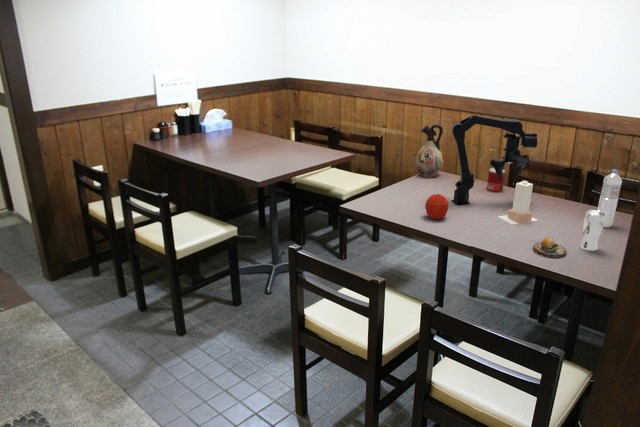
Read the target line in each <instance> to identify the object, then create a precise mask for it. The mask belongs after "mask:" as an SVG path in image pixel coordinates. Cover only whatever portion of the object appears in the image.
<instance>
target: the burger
mask: <svg viewBox="0 0 640 427" xmlns="http://www.w3.org/2000/svg"><path fill="white" fill-rule="evenodd" d="M532 250H533V253H536V254H537V255H538V254H541V255H543V256H542V257H544V258H549V259H561V258H564V257H565V256H566V254H567V249H566V248H565V247H564V246H562V245H560V244H559V243H556V242H555V240H554V239H553V238H552V237H545V238H543V239H542V241H538V242H535V243H534V245H533V247H532ZM541 255H540V256H541ZM560 257H561V258H560Z"/></svg>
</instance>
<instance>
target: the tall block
mask: <svg viewBox="0 0 640 427" xmlns="http://www.w3.org/2000/svg"><path fill="white" fill-rule="evenodd" d="M533 186H534V184H533V183H532V182H531V183H530V182H529V181H527V180H522V181H520V182H517V183H516V184H515V188H514V189H515V190H514V197H513V204H512V209H511V210H512V211H513V212H516V213H519V214H522V215H523V214H525V213H528V212H530V207H531V206H530V204H531V199H532V194H533Z"/></svg>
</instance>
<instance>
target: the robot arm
mask: <svg viewBox="0 0 640 427" xmlns="http://www.w3.org/2000/svg"><path fill="white" fill-rule="evenodd" d="M476 125H479V126H480V125H481V126H485V127H492V128H495V129H496V128H497V129H500V130H503V131H506V132H505V133H503V134H502V137H503V138H504V139H506V142H505V147H503V148H502V150H503V151H504V156H502V158H501V159H499V158H492V159H491V160H490V161H489V165H490V166H491V168H494V169H495V171H496V173H497V176H498V179H499V180H501V178H502V171H503V170H505V165H511V164H514V166H513V167H514V168H513V169H514V170H513V175H514V179H517V178H518V177H519V175H520V173H521V172H522V169H524V168H525V167H527V166H528V165H530V164H531V162H530V161H531V160H530V155H529V154H521V150H520V149H519V148H520V147H519V146H521V147H522V149H523V148H526V149H528V148H529V149H536V148H537V146H538V134H537V133H536V132H525V131H524V129H523V124H522V122H521V121H519V120H518V119H516V118H503V119H500V118H494V117H491V116H486V115H478V114H476V113H475V114H474V113H472V114H471V115H469V116H468V117H466V118H464V119H461V120H460V121H456V122H454V123H452V124H451V132H452V134H453V137H454V140H455V143H456V149H457V155H458V161H459V166H460V167H459V168H460V174H459V176H460V178H459V180H458V181H456V182H455V183H454V184H455V187H456V189H454V190H453V199H452V200H451V202H452V203H453V204H456V205H457V206H462V205H468V204H470V201H469V200H470V190H472V189H473V187H474V186H475V185H474V183H476V181H475V175H474V172H473V170H471V171H470V168H469V160H468V156H467V155H468V154H467V150H466V144H465V141H466V132H467V131H469V130H470V129H471V128H472V127H474V126H476Z"/></svg>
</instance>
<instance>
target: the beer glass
mask: <svg viewBox="0 0 640 427" xmlns="http://www.w3.org/2000/svg"><path fill="white" fill-rule="evenodd" d="M605 215H606V214H605V213H604V212H602V211H598V209H588V210H586V213H585V215H584V220H583V226H582V227H583V228H582V229H583V231H582V232H583V233H582V234H583V235H582V240H581V242H580V243H581V244H580V245H579V247H580V248H581V249H582V250H583V251H588V252H595V251H597V250H598V242H599V239H600V236H601V234H602V232H603V230H604V227H603V226H604V222H605Z"/></svg>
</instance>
